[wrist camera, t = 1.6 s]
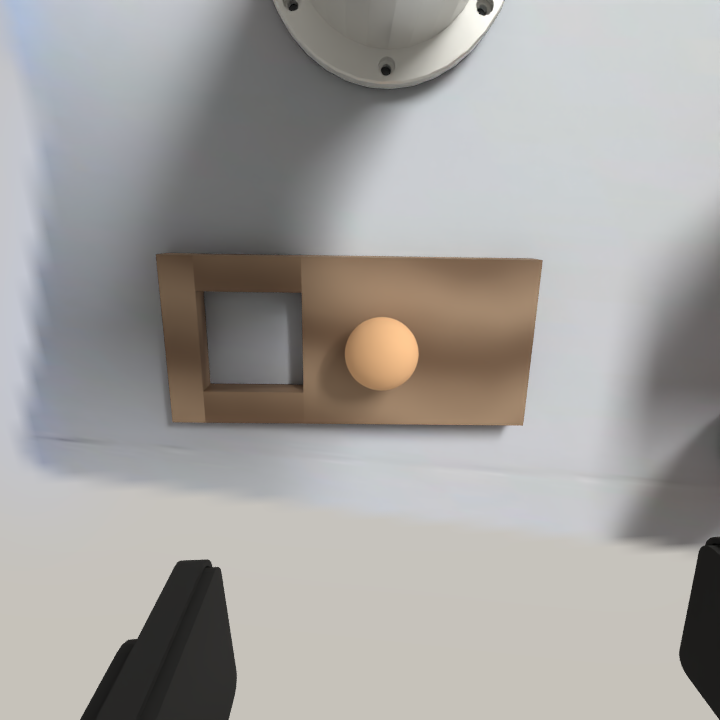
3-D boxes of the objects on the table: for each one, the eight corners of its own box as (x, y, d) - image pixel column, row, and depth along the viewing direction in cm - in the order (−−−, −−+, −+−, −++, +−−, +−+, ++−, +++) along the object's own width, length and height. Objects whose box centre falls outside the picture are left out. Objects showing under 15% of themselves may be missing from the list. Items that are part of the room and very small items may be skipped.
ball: (345, 310, 27) (344, 324, 23) (415, 311, 27) (425, 325, 23) (345, 377, 28) (343, 401, 24) (412, 377, 28) (421, 401, 24)
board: (166, 252, 27) (155, 254, 26) (532, 258, 28) (542, 260, 26) (181, 413, 30) (172, 422, 28) (514, 416, 30) (522, 425, 29)
